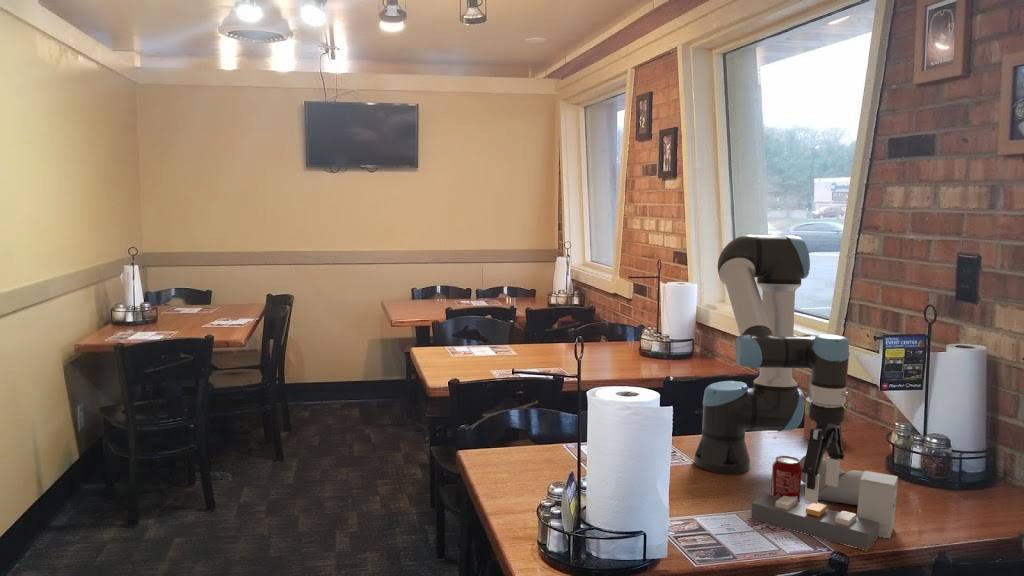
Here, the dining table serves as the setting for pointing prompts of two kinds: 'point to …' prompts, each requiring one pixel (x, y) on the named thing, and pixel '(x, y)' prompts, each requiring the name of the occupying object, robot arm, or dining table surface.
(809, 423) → the canned food
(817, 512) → the paddle mid
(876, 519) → the supplement box
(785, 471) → the soda can
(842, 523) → the button panel
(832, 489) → the l-shaped cylinder
